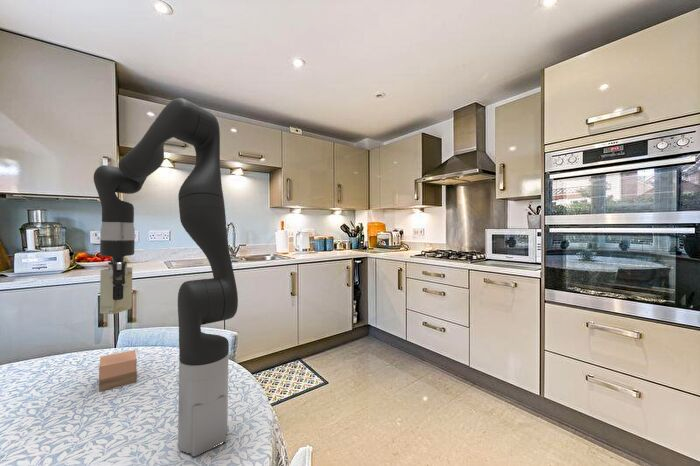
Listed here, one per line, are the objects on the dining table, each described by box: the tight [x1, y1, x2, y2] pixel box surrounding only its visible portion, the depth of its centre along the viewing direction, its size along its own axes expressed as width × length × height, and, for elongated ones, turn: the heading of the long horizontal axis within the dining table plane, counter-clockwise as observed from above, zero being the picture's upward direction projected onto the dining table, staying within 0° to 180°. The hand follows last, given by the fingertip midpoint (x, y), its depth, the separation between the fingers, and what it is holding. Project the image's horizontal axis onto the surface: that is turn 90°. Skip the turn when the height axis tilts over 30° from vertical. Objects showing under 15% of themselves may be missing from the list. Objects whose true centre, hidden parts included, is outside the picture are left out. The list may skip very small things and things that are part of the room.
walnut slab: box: [98, 369, 138, 393], centre depth 82 cm, size 8×8×4 cm
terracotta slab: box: [98, 349, 138, 381], centre depth 82 cm, size 8×8×4 cm
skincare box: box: [99, 266, 133, 315], centre depth 81 cm, size 6×4×12 cm
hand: (117, 296), depth 81 cm, fingers closed on skincare box, 7 cm apart
